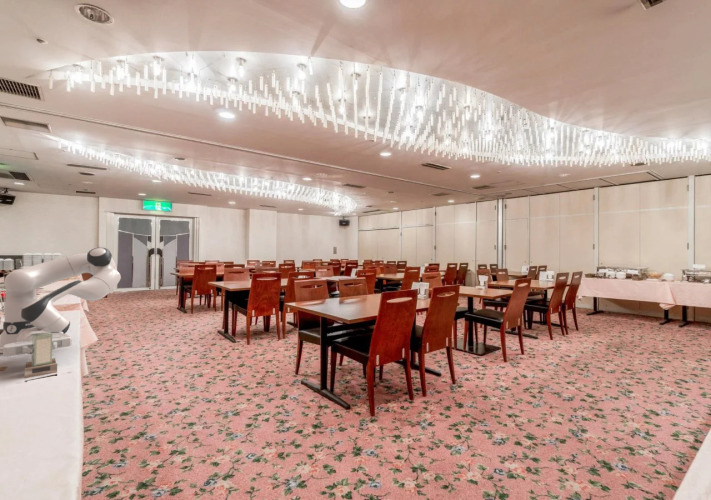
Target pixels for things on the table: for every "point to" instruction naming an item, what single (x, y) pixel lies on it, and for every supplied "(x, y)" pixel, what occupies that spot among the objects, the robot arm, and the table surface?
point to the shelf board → (40, 370)
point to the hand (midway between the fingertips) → (42, 348)
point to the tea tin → (42, 349)
